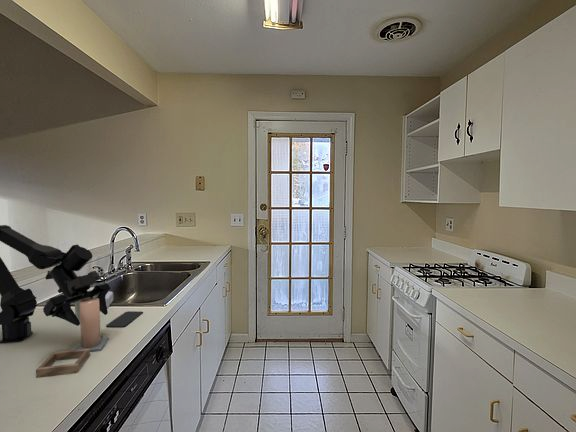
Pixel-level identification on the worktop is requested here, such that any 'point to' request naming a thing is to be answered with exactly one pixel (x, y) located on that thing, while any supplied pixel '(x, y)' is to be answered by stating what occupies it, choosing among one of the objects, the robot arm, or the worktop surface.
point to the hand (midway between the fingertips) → (93, 319)
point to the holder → (49, 370)
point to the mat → (96, 348)
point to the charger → (109, 298)
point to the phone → (124, 319)
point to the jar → (90, 322)
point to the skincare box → (77, 306)
